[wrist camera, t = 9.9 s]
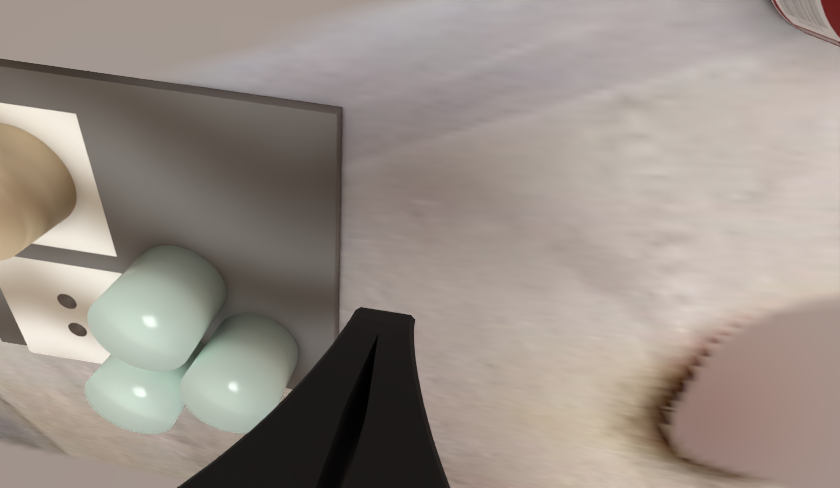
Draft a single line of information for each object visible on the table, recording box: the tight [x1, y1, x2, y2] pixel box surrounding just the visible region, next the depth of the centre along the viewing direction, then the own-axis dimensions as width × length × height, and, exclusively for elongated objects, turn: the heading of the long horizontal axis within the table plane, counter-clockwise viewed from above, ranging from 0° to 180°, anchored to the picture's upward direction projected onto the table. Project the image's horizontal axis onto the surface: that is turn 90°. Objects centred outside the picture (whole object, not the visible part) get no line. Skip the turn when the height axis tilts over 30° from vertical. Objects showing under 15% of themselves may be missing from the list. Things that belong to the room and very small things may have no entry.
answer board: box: [0, 59, 342, 389], centre depth 24 cm, size 16×19×1 cm
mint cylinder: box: [87, 245, 227, 371], centre depth 23 cm, size 4×4×4 cm
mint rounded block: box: [85, 341, 204, 434], centre depth 26 cm, size 4×4×4 cm
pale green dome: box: [179, 314, 299, 433], centre depth 25 cm, size 4×4×4 cm
